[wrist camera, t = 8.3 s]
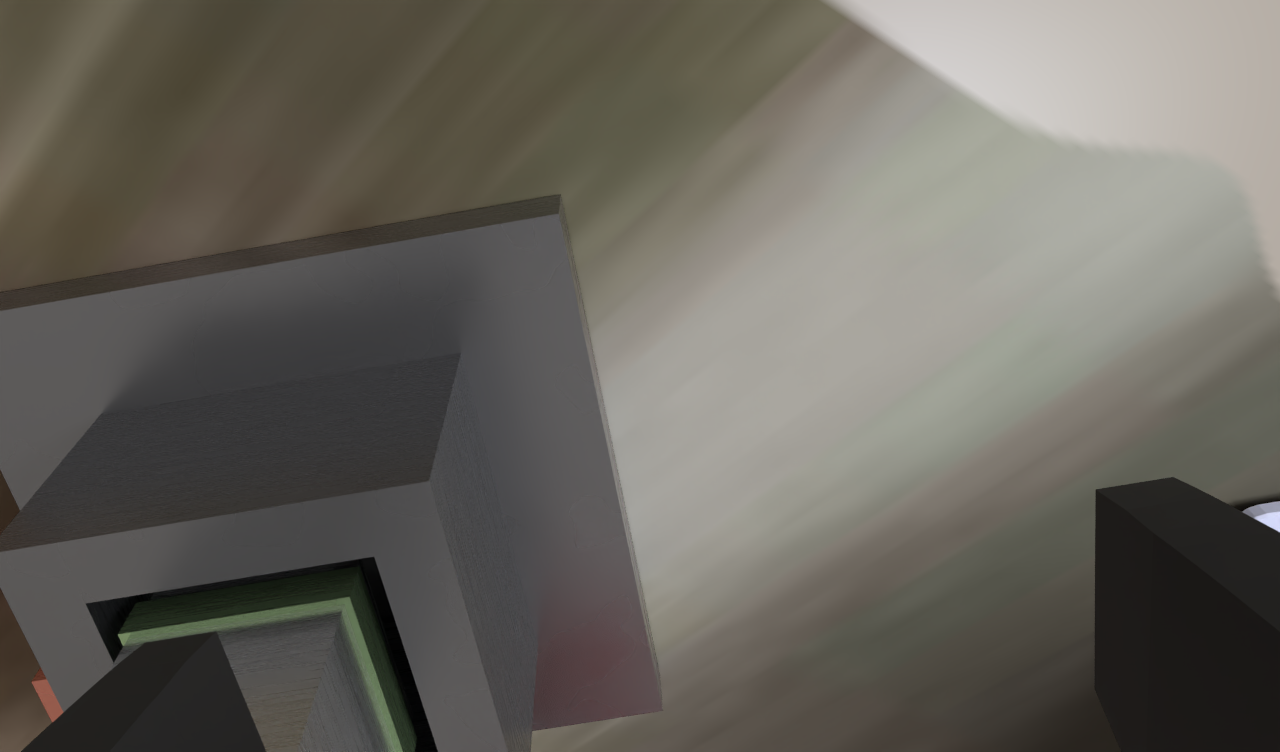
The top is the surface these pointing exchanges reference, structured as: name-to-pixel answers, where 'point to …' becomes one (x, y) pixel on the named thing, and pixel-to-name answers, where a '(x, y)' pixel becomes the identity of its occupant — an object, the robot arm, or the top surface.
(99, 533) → the grey square socket base
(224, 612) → the light grey rectangular block
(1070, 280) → the top surface
